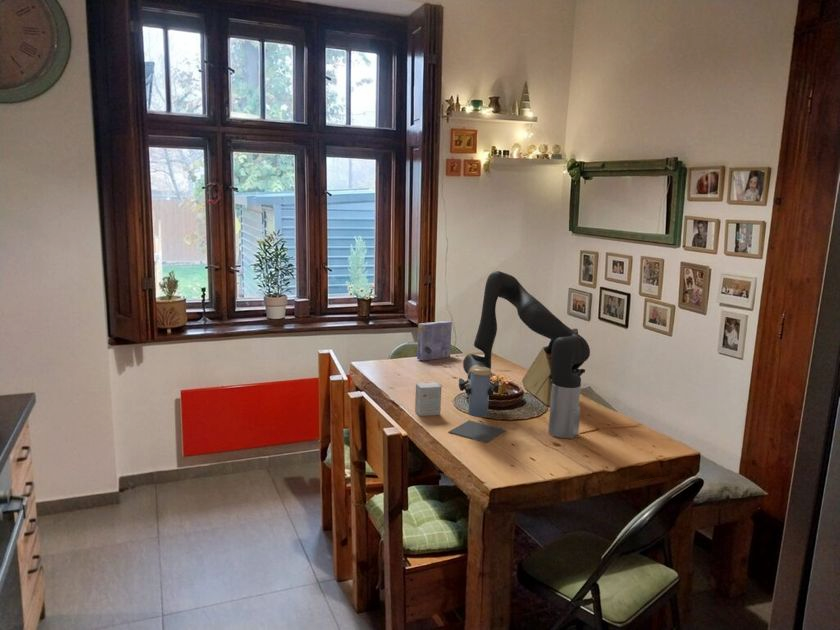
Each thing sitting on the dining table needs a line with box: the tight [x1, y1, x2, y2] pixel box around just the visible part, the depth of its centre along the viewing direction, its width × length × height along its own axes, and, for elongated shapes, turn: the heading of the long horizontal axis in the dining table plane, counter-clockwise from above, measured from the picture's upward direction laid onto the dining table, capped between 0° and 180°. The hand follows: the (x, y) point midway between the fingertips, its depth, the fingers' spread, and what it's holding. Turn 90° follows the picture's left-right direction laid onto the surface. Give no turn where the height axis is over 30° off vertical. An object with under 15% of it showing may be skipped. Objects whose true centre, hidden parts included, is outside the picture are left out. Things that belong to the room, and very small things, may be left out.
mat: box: [448, 420, 507, 444], centre depth 209 cm, size 14×14×1 cm
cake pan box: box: [416, 320, 453, 362], centre depth 303 cm, size 19×5×18 cm, turn 130°
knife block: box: [521, 327, 586, 407], centre depth 245 cm, size 11×35×31 cm, turn 12°
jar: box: [467, 366, 492, 418], centre depth 207 cm, size 7×7×15 cm
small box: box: [414, 381, 442, 417], centre depth 225 cm, size 8×6×10 cm
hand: (479, 392), depth 204 cm, fingers closed on jar, 6 cm apart
